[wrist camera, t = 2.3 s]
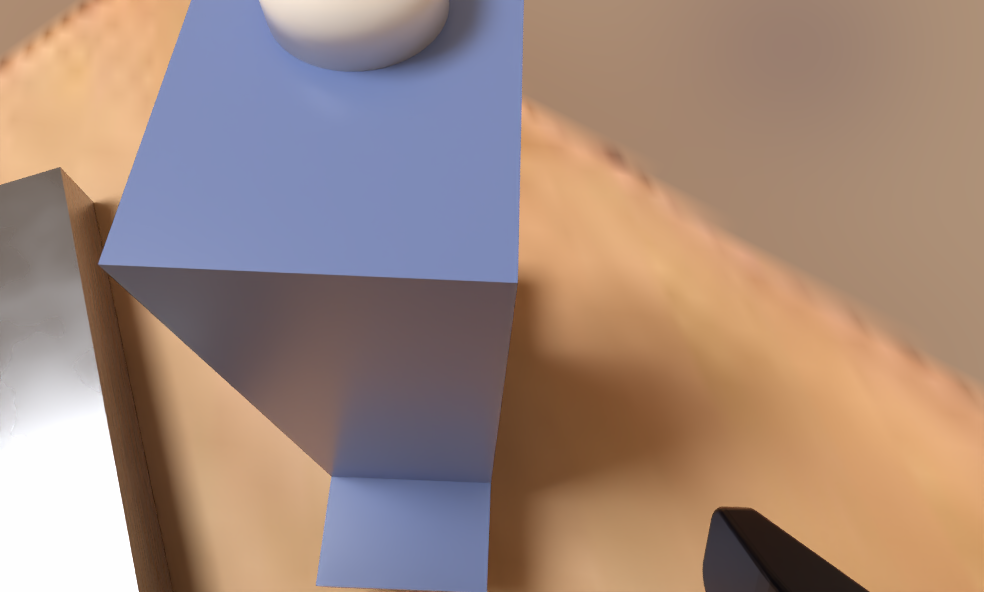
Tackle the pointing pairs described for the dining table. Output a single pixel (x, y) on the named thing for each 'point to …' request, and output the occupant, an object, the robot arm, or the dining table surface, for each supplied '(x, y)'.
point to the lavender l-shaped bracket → (346, 253)
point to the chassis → (67, 407)
